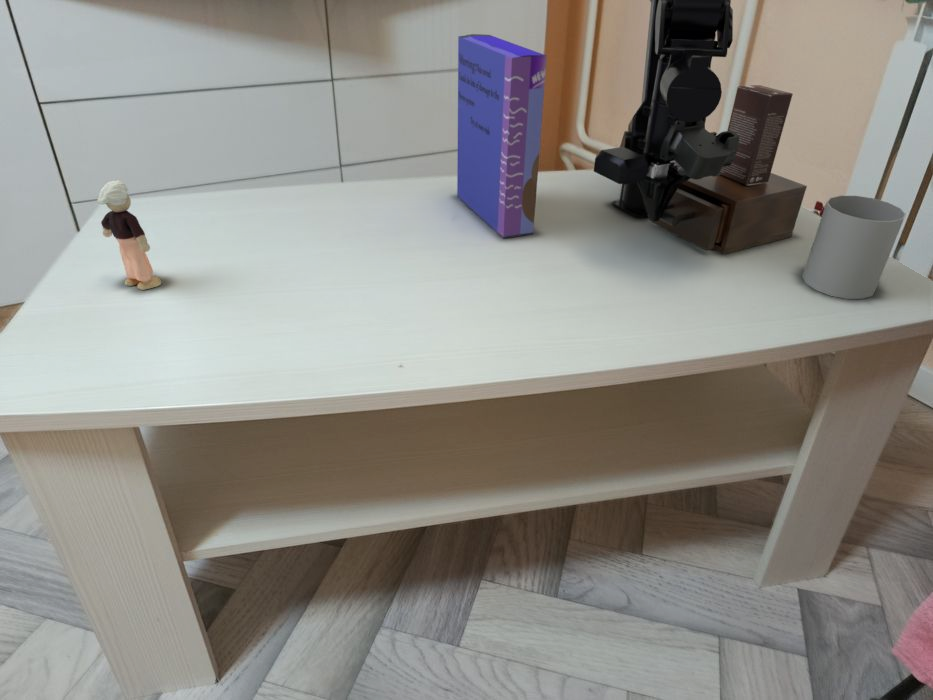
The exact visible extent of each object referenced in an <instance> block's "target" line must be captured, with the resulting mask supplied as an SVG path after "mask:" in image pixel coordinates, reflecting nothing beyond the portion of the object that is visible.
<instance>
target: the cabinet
mask: <svg viewBox="0 0 933 700" xmlns="http://www.w3.org/2000/svg"><path fill="white" fill-rule="evenodd" d="M682 184H684V185H686V186H688V187H691V188H693V189H695V190H698V191H700V192H702V193H704V194H707V195H709V196H711V197H714V198H716V199H718V200H721V201H723V202H725V203H727V204H730V205H731V208H730V212H729V216H728V220H727V224H726V228H725V232H724V236H723V240H722V242H719V243H716V242H715V244H714V248H713V249H712V250H714V251H715V252H718V253H720V254H722V255H726V254H730V253H734V252H738V251H742V250H746V249H749V248H753V247H758V246H761V245H765V244H770V243H773V242H777V241H780V240H784V239H788V238H791V237H792V236H793V234H794V229H795V226H796V223H797V220H798V216H799V213H800V210H801V206H802V203H803V200H804V198H805V194H806V191H807V189H808V188H807V187H808V186H807V185H805V184H802V183H800V182H797V181H794V180H791V179H789V178H786V177H783V176H781V175H778V174H775V173H773V172H771V174H770V177H769V181H768V182H766V183H762V184H757V185H752V186H746V185H745V184H742V183H740V182H738V181H736V180H733V179H731V178H728V177H726V176H724V175H721V174H718V176H714V177H713V176H708V177H703V178H702V179H698V180H695V179H692V178H690V179H689V180H687V181H685V182H683V183H682Z"/></svg>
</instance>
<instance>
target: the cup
mask: <svg viewBox="0 0 933 700" xmlns="http://www.w3.org/2000/svg"><path fill="white" fill-rule="evenodd" d="M905 217H906V212H905V211H904V210H903V209H902V208H901V207H899V206H898V205H897V206H896V205H894V204H893V203H890V202H888V201H884V200H881V199H876V198H873V197H868V196H867V197H866V196H860V195H837V196H831V197H829V198H828V200H827V201H826V203H825V205H824V208H823V212H822V215H821V218H820V221H819V222H818V223H819V224H818V226H817V231H816V233H815V236H814V239H813V242H812V245H811V248H810V252H809V254H808V256H807V259H806V263H805V266H804V269H803V271H802V275H801V277H802V280H803V281H804V283H805V284H806V285H807V286H809V287H810V288H812V289H813V290H815V291H817V292H820V293H823V294H825V295H827V296H831V297H835V298H839V299H845V300H846V299H847V300H864V299H866V298H870V297H873V295H874V294H875V291H876V290H877V287H878V284H879V282H880V279H881V277H882V274H883V272H884V269H885V268H886V264H887V263H888V260H889V257H890V255H891V252H892V249H893V247H894V244H895V242H896V240H897V237H898V235H899V233H900V230H901V227H902V225H903V222H904V220H905Z"/></svg>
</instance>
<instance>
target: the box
mask: <svg viewBox="0 0 933 700" xmlns="http://www.w3.org/2000/svg"><path fill="white" fill-rule="evenodd" d="M793 95H794V94H793V93H792V92H788V91H783V90H779V89H775V88H772V87H768V86H764V85H760V84H752V85H739V86H737V88H736V93H735V97H734V101H733V104H732V110H731V113H730V118H729V123H728V126H727V131H731V130H733V131H734V132H735V133H736V134H738V135H739V136H740V137H739V144H738V150H737V153H736V155H735V161H734V162H732V163H731V165H730V166H725V167H722V169H721V171H720V173H719V174H721V175H724V176H726V177H728V178H731V179H733V180H736V181H738V182H740V183H742V184H745V185H746V186H752V185H757V184H762V183H766V182H768V181H769V177H770V174H771V173H772V170H773V165H774V162H775V159H776V155H777V151H778V148H779V145H780V141H781V139H782V138H781V137H782V134H783V130H784V127H785V123H786V119H787V116H788V113H789V109H790V106H791V101H792V98H793Z"/></svg>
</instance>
